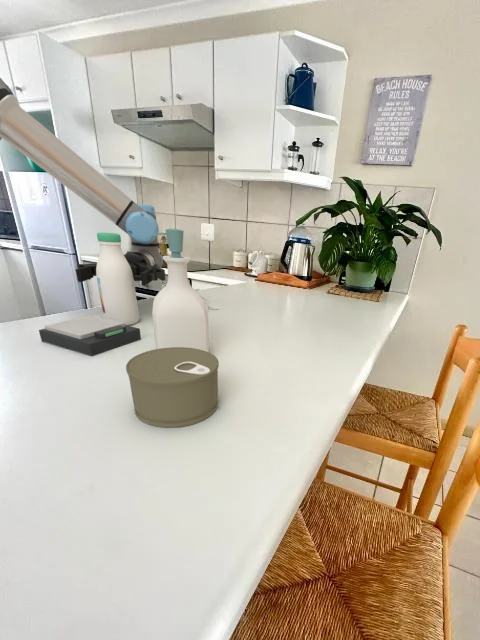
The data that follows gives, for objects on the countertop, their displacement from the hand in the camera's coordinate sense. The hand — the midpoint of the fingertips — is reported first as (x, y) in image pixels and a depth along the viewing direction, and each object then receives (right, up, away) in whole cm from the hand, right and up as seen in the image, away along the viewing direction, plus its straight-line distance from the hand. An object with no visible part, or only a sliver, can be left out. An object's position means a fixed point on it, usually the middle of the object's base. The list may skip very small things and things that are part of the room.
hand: (111, 277), depth 73 cm
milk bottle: (-1, -9, +7) cm, 11 cm away
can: (+24, -27, -25) cm, 44 cm away
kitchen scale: (-1, -15, -5) cm, 16 cm away
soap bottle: (+19, -18, -8) cm, 28 cm away
